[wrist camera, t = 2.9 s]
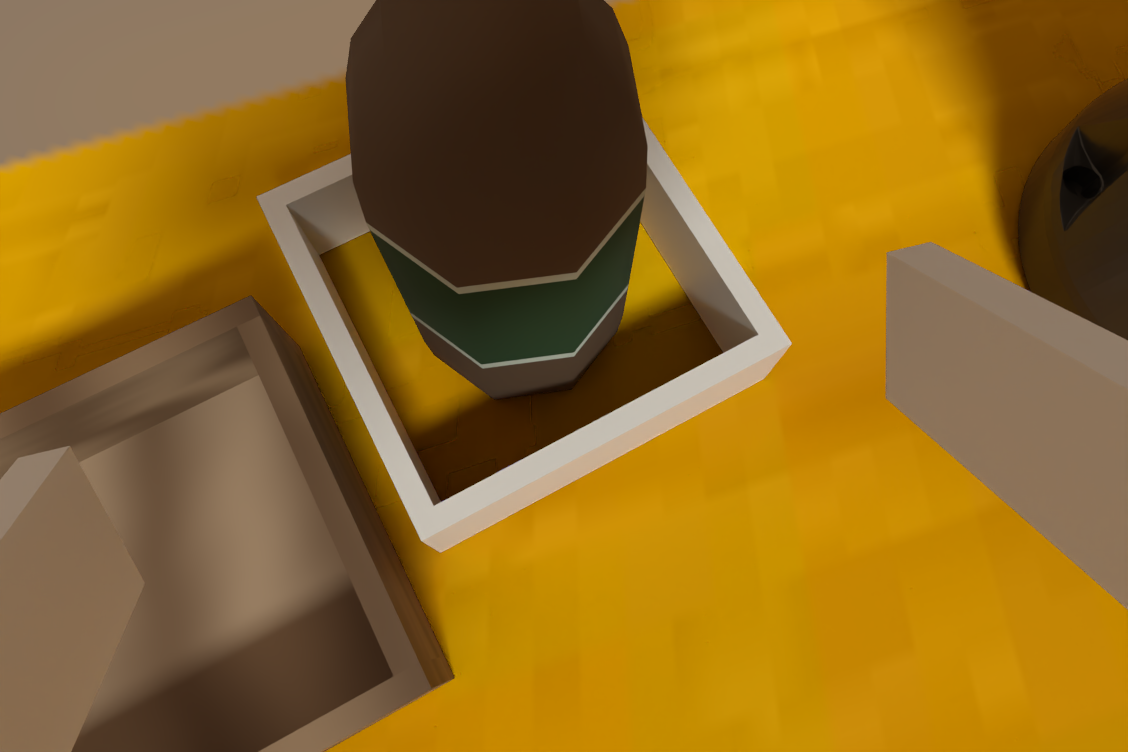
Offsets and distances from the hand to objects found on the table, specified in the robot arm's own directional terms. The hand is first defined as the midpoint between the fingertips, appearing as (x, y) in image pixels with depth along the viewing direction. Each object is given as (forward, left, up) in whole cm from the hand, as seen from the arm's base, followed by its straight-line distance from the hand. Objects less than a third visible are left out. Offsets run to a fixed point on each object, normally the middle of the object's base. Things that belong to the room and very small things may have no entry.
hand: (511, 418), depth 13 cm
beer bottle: (-3, -8, -17) cm, 19 cm away
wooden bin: (+12, -4, -17) cm, 21 cm away
